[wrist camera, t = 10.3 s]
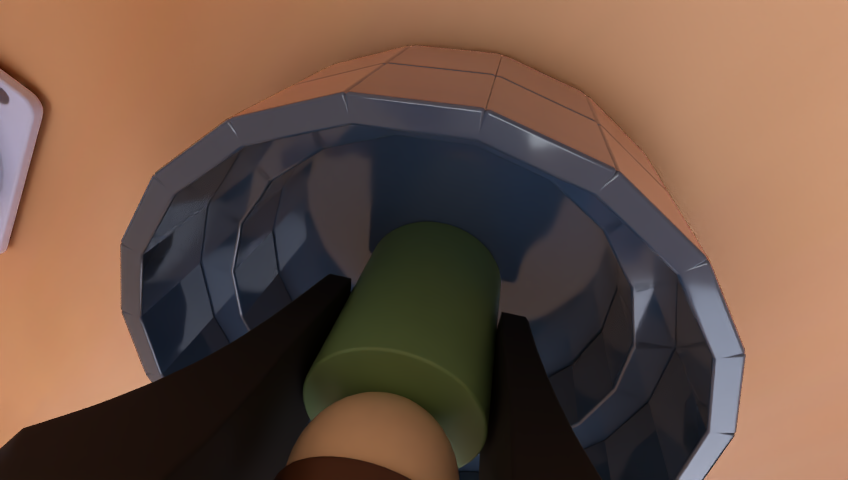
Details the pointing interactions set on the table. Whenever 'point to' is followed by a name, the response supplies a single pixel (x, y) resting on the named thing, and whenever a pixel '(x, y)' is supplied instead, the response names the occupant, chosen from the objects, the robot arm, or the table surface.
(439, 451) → the peg doll
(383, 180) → the bowl
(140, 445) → the robot arm
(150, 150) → the table surface
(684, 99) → the table surface
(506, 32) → the table surface
